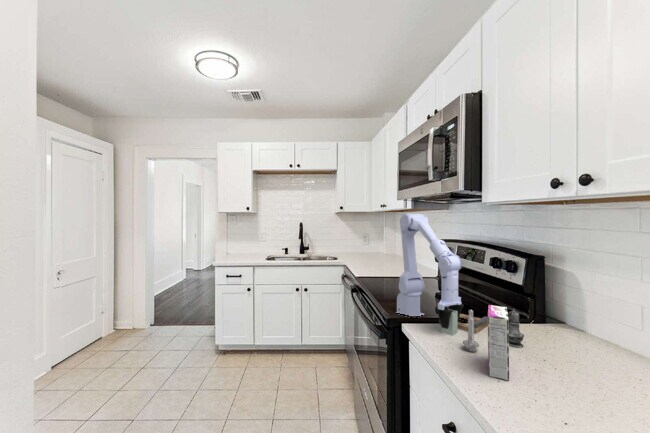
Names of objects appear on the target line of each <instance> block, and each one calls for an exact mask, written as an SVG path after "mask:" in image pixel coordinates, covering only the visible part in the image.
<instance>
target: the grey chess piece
mask: <svg viewBox="0 0 650 433" xmlns="http://www.w3.org/2000/svg"><path fill="white" fill-rule="evenodd" d="M508 319H509V348H510V347H511V348H515V349H522V348H524V345H523V343H522V342H523V340H524V338H525V334H524V333H522V332H521V331H520V325H521V322H520V314H519V313H518V312H517V311H516V309H515V308H513V309H512V310H511V311H509V312H508Z"/></svg>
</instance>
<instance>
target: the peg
mask: <svg viewBox="0 0 650 433" xmlns="http://www.w3.org/2000/svg"><path fill="white" fill-rule="evenodd" d="M447 309H448V310H451V309H449V308H447ZM452 311H453V312H452V313H451V316H450V320H449V327H448V329H446V328H442V327H441V334H442V333H443V334H445V335H448V336H449V335H450V336H451V337H453V336H455V335H456V334H458V329H457V327H458V322H459V319H458V311H455V310H452Z"/></svg>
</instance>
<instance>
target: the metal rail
mask: <svg viewBox="0 0 650 433" xmlns="http://www.w3.org/2000/svg"><path fill="white" fill-rule="evenodd" d="M487 321H488V316H483V317H481V319H480V320H478V321H476V322H475V323H474V328H475V329H476V328H478V327H479V326H481V325H483V324H484V323H486V322H487Z"/></svg>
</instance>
